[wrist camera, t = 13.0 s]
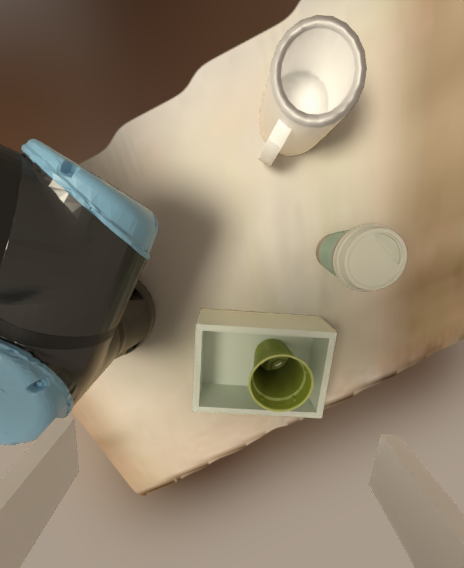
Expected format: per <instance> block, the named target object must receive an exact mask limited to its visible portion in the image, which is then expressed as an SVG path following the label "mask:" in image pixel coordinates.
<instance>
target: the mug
mask: <svg viewBox="0 0 464 568" xmlns="http://www.w3.org/2000/svg"><path fill="white" fill-rule="evenodd" d="M366 70H367V67H366V59H365V51H364V49H363V46H362V44H361V42H360V39H359V37H358V35H357V34H356V33H355V32H354V31H353V30H352V29H351V28H350V26H349V25H348V24H347V23H345V22H343V21H341V20H339V19H337V18H335V17H333V16H322V15H316V16H313V17H309V18H306V19H303V20H301V21H299V22H298V23H297V24H295V25H294V26H293V27H291V28H290V29H289V30H288V31H287V32H286V33H285V35H284V36H283V38H282V39H281V40H280V42H279V43H278V45H277V47H276V50H275V53H274V56H273V58H272V61H271V65H270V69H269V73H268V77H267V81H266V85H265V89H264V92H263V96H262V100H261V104H260V108H259V117H258V124H259V129H260V134H261V136H262V138H263V139H264V141H265V143H266V144H265V146H264V148H263V150H262V152H261V154H260V157H259V160H260V161H262V162H263V163H265V164H267V165H268V166H271V164H272V163H273V161H274V160H275V158H276V156H277V155H278V153H279V154H281V155H284V156H296V155H300V154H303V153H305V152H307V151H308V150H310V149H311V148H313V147H314V146H315V145H316V144H317V143H318V142H319V141H320V140H321V139H322V138H323V137H324V136H325V135H326V134H327V133H328V132H330V131H331V130H332V129H333V128H334V127H335V126H336V125H337V124H338V123H339V122H340V121H341V120H342V119H343V118H344V117H345V116H346V115H347V114H348V113H349V111H350V110H351V109H352V108H353V106H354V105H355V104H356V103H357V101H358V99H359V97H360V94H361V92H362V90H363V87H364V83H365V76H366Z"/></svg>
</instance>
